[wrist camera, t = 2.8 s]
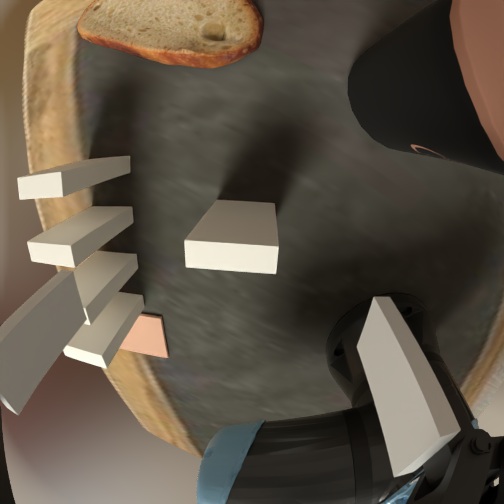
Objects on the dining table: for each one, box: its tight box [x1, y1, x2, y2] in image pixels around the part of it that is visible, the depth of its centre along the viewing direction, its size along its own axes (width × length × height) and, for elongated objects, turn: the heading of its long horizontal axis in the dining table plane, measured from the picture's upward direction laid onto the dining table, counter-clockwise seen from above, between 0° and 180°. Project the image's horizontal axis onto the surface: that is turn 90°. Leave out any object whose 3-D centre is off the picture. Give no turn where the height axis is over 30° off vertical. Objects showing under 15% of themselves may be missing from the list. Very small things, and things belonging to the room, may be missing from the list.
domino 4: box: [63, 292, 145, 368], centre depth 27 cm, size 2×6×11 cm, turn 87°
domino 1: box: [17, 156, 130, 199], centre depth 20 cm, size 2×6×11 cm, turn 87°
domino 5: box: [185, 200, 279, 274], centre depth 21 cm, size 2×6×11 cm, turn 87°
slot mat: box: [120, 313, 169, 358], centre depth 34 cm, size 7×10×1 cm
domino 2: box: [27, 206, 134, 268], centre depth 22 cm, size 2×6×11 cm, turn 87°
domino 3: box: [73, 251, 138, 325], centre depth 25 cm, size 2×6×11 cm, turn 87°
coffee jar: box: [348, 0, 504, 175], centre depth 13 cm, size 11×11×18 cm
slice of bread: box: [77, 0, 263, 68], centre depth 17 cm, size 18×18×4 cm
